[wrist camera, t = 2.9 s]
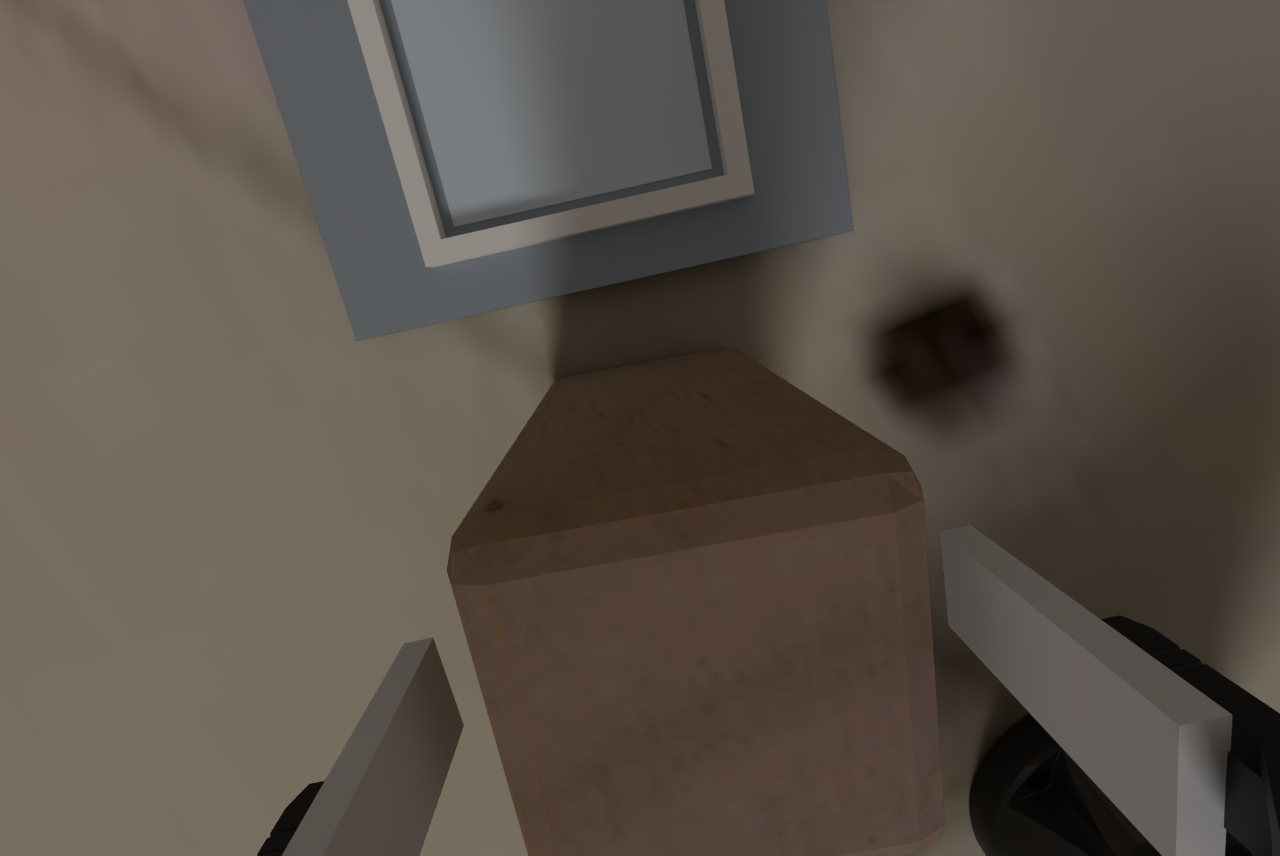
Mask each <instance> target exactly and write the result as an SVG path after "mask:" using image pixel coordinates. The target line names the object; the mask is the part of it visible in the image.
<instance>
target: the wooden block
mask: <svg viewBox="0 0 1280 856" xmlns="http://www.w3.org/2000/svg"><path fill="white" fill-rule="evenodd" d="M447 572H448V576H449V579H450V583H451V586H452V590H453V593H454V597H455V600H456V604H457V607H458V611H459V614H460V618H461V621H462V625H463V628H464V632H465V635H466V639H467V642H468V646H469V649H470V653H471V656H472V660H473V663H474V667H475V670H476V674H477V677H478V681H479V684H480V688H481V691H482V695H483V698H484V702H485V705H486V709H487V712H488V716H489V719H490V723H491V726H492V730H493V733H494V737H495V740H496V744H497V747H498V751H499V754H500V758H501V761H502V765H503V768H504V772H505V775H506V779H507V782H508V786H509V789H510V793H511V796H512V800H513V803H514V807H515V810H516V814H517V817H518V821H519V824H520V828H521V831H522V835H523V838H524V842H525V845H526V849H527V852H528V856H908V855H914V854H917V853H919V852H920V851H922V850H923V849H925V848H926V847H928V846H930V845H931V844H933V843H934V842H936V841H937V840H938V838H939V836H940V834H941V832H942V830H943V828H944V825H945V821H944V806H943V790H942V775H941V760H940V744H939V729H938V714H937V698H936V683H935V668H934V652H933V637H932V622H931V606H930V591H929V576H928V561H927V545H926V530H925V515H924V500H923V494H922V489H921V485H920V483H919V481H918V479H917V478H916V476H915V474H914V472H913V470H912V469H911V467H910V465H909V463H908V461H907V459H906V458H905V456H904V455H902V454H901V453H899V452H898V451H896V450H894V449H893V448H891V447H890V446H888V445H886V444H885V443H883V442H882V441H880V440H879V439H877V438H875V437H874V436H872V435H871V434H869V433H867V432H866V431H864V430H863V429H861V428H860V427H858V426H856V425H855V424H853V423H852V422H850V421H848V420H847V419H845V418H844V417H842V416H841V415H839V414H837V413H836V412H834V411H833V410H831V409H829V408H828V407H826V406H825V405H823V404H822V403H820V402H818V401H817V400H815V399H814V398H812V397H810V396H809V395H807V394H806V393H804V392H803V391H801V390H799V389H798V388H796V387H795V386H793V385H792V384H790V383H788V382H787V381H785V380H784V379H782V378H780V377H779V376H777V375H776V374H774V373H773V372H771V371H769V370H768V369H766V368H765V367H763V366H761V365H760V364H758V363H757V362H755V361H754V360H752V359H750V358H749V357H747V356H746V355H744V354H742V353H741V352H739V351H736V350H732V349H727V348H719V349H714V350H708V351H703V352H697V353H692V354H686V355H681V356H676V357H670V358H665V359H659V360H654V361H648V362H643V363H637V364H632V365H626V366H621V367H615V368H610V369H604V370H599V371H593V372H588V373H583V374H577V375H572V376H566V377H564V378H562V379H561V380H559V381H557V382H556V383H554V384H553V385H552V386H551V387H550V389H549V390H548V392H547V394H546V395H545V397H544V398H543V400H542V401H541V403H540V404H539V406H538V407H537V409H536V410H535V412H534V413H533V415H532V416H531V418H530V419H529V421H528V422H527V424H526V425H525V427H524V428H523V430H522V431H521V433H520V434H519V436H518V437H517V439H516V441H515V442H514V444H513V445H512V447H511V448H510V450H509V451H508V453H507V454H506V456H505V457H504V459H503V460H502V462H501V463H500V465H499V466H498V468H497V469H496V471H495V472H494V474H493V475H492V477H491V478H490V480H489V481H488V483H487V485H486V486H485V488H484V489H483V491H482V492H481V494H480V495H479V497H478V498H477V500H476V501H475V503H474V504H473V506H472V507H471V509H470V510H469V512H468V513H467V515H466V516H465V518H464V519H463V521H462V522H461V524H460V525H459V527H458V528H457V530H456V532H455V533H454V535H453V536H452V540H451V546H450V553H449V559H448V566H447Z"/></svg>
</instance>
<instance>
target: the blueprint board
mask: <svg viewBox="0 0 1280 856" xmlns="http://www.w3.org/2000/svg"><path fill="white" fill-rule="evenodd" d="M243 1H244V4H245V7H246V10H247V13H248V16H249V19H250V22H251V25H252V28H253V31H254V34H255V37H256V40H257V43H258V46H259V49H260V52H261V55H262V58H263V61H264V64H265V67H266V70H267V73H268V76H269V79H270V82H271V85H272V88H273V91H274V94H275V97H276V100H277V103H278V106H279V109H280V112H281V115H282V118H283V121H284V124H285V127H286V130H287V133H288V136H289V139H290V142H291V145H292V148H293V151H294V154H295V157H296V160H297V163H298V166H299V169H300V172H301V175H302V178H303V181H304V184H305V187H306V190H307V193H308V196H309V199H310V202H311V205H312V208H313V211H314V214H315V217H316V220H317V223H318V226H319V229H320V232H321V235H322V238H323V241H324V244H325V247H326V250H327V253H328V256H329V259H330V262H331V265H332V268H333V271H334V274H335V277H336V280H337V283H338V286H339V289H340V292H341V295H342V298H343V301H344V304H345V307H346V310H347V313H348V317H349V320H350V323H351V326H352V329H353V332H354V335H355V338H356V341H359V340H364V339H368V338H373V337H377V336H382V335H386V334H391V333H395V332H400V331H404V330H409V329H413V328H418V327H422V326H427V325H431V324H436V323H440V322H445V321H449V320H454V319H458V318H463V317H467V316H472V315H476V314H481V313H485V312H490V311H494V310H499V309H503V308H508V307H512V306H517V305H521V304H526V303H530V302H535V301H539V300H544V299H548V298H553V297H557V296H562V295H566V294H571V293H575V292H580V291H584V290H589V289H593V288H598V287H602V286H607V285H611V284H616V283H620V282H625V281H629V280H634V279H638V278H643V277H647V276H652V275H656V274H661V273H665V272H670V271H674V270H679V269H683V268H688V267H692V266H697V265H701V264H706V263H710V262H715V261H719V260H724V259H728V258H733V257H737V256H742V255H746V254H751V253H755V252H760V251H764V250H769V249H773V248H778V247H782V246H787V245H791V244H796V243H800V242H805V241H809V240H814V239H818V238H823V237H827V236H832V235H836V234H841V233H845V232H850V231H853V223H852V215H851V207H850V198H849V190H848V182H847V173H846V165H845V157H844V148H843V140H842V132H841V123H840V115H839V106H838V98H837V90H836V81H835V73H834V65H833V56H832V48H831V40H830V31H829V23H828V15H827V6H826V0H243Z"/></svg>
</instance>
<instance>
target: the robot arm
mask: <svg viewBox="0 0 1280 856" xmlns="http://www.w3.org/2000/svg"><path fill="white" fill-rule="evenodd" d="M940 540H941V551H942V562H943V573H944V584H945V595H946V606H947V617H948V626H949V627H950V628H951V629H952V630H953V631H954V632H955V633H956V634H957V635H958V636H959V637H960V638H961V640H962V641H963V642H964V643H965V644H966V645H967V646H968V647H969V648H970V649H971V650H972V651H973V652H974V654H975V655H976V656H977V657H978V658H979V659H980V660H981V661H982V662H983V663H984V664H985V665H986V666H987V668H988V669H989V670H990V671H991V672H992V673H993V674H994V675H995V676H996V677H997V678H998V679H999V681H1000V682H1001V683H1002V684H1003V685H1004V686H1005V687H1006V688H1007V689H1008V690H1009V691H1010V692H1011V693H1012V695H1013V696H1014V697H1015V698H1016V699H1017V700H1018V701H1019V702H1020V703H1021V704H1022V705H1023V706H1024V707H1025V709H1026V710H1027V711H1028V712H1029V713H1030V714H1031V716H1029V717H1028V718H1026V719H1025V720H1023V721H1022V722H1021V723H1019V724H1018V725H1017V726H1015V727H1014V728H1013V729H1012V730H1011V731H1010V732H1008V733H1007V734H1006V735H1005V736H1004V737H1003V738H1002V739H1001V740H1000V742H999V743H998V744H997V745H996V746H995V747H994V749H993V750H992V751H991V752H990V754H989V755H988V757H987V758H986V760H985V762H984V763H983V765H982V767H981V769H980V771H979V773H978V775H977V778H976V780H975V783H974V787H973V791H972V795H971V802H970V817H971V824H972V828H973V831H974V834H975V837H976V839H977V841H978V843H979V845H980V847H981V848H982V850H983V851H984V853H985V855H986V856H1280V713H1278V712H1277V711H1275V710H1274V709H1272V708H1271V707H1269V706H1268V705H1266V704H1265V703H1263V702H1262V701H1260V700H1259V699H1257V698H1256V697H1254V696H1253V695H1251V694H1250V693H1248V692H1247V691H1245V690H1244V689H1242V688H1241V687H1239V686H1238V685H1236V684H1235V683H1233V682H1232V681H1230V680H1229V679H1227V678H1226V677H1225V676H1223V675H1222V674H1220V673H1219V672H1217V671H1216V670H1214V669H1213V668H1211V667H1210V666H1208V665H1207V664H1204V665H1203V664H1202V663H1201V661H1200V660H1199V659H1198V658H1196V657H1195V656H1193V655H1192V654H1190V653H1189V652H1187V651H1186V650H1184V649H1183V650H1181V649H1180V648H1179V646H1178V645H1177V644H1175V643H1174V642H1172V641H1171V640H1169V639H1168V638H1166V637H1165V636H1163V635H1162V634H1160V633H1159V632H1157V631H1156V630H1154V629H1153V628H1151V627H1148V626H1146V625H1143V624H1140V623H1138V622H1135V621H1133V620H1130V619H1128V618H1125V617H1123V616H1115V617H1110V618H1105V619H1099V618H1098V617H1097V616H1095V615H1094V614H1093V613H1091V612H1090V611H1088V610H1087V609H1086V608H1084V607H1083V606H1081V605H1080V604H1079V603H1077V602H1076V601H1075V600H1073V599H1072V598H1070V597H1069V596H1068V595H1066V594H1065V593H1064V592H1062V591H1061V590H1059V589H1058V588H1057V587H1055V586H1054V585H1053V584H1051V583H1050V582H1048V581H1047V580H1046V579H1044V578H1043V577H1041V576H1040V575H1039V574H1037V573H1036V572H1035V571H1033V570H1032V569H1030V568H1029V567H1028V566H1026V565H1025V564H1024V563H1022V562H1021V561H1019V560H1018V559H1017V558H1015V557H1014V556H1012V555H1011V554H1010V553H1008V552H1007V551H1006V550H1004V549H1003V548H1001V547H1000V546H999V545H997V544H996V543H995V542H993V541H992V540H990V539H989V538H988V537H986V536H985V535H984V534H982V533H981V532H979V531H978V530H977V529H975V528H974V527H972V526H971V525H966V526H961V527H956V528H951V529H947V530H942V531H940ZM463 726H464V725H463V722H462V719H461V716H460V713H459V710H458V707H457V705H456V702H455V699H454V696H453V693H452V690H451V687H450V685H449V682H448V679H447V676H446V673H445V670H444V667H443V665H442V662H441V659H440V656H439V653H438V650H437V647H436V645H435V642H434V639H433V638H428V639H424V640H419V641H414V642H409V643H405V644H404V645H403V646H402V648H401V650H400V651H399V653H398V655H397V657H396V658H395V660H394V662H393V664H392V665H391V667H390V669H389V671H388V672H387V674H386V676H385V678H384V679H383V681H382V683H381V684H380V686H379V688H378V690H377V691H376V693H375V695H374V697H373V698H372V700H371V702H370V704H369V705H368V707H367V709H366V710H365V712H364V714H363V716H362V717H361V719H360V721H359V723H358V724H357V726H356V728H355V730H354V731H353V733H352V735H351V736H350V738H349V740H348V742H347V743H346V745H345V747H344V749H343V750H342V752H341V754H340V756H339V757H338V759H337V761H336V762H335V764H334V766H333V768H332V769H331V771H330V773H329V775H328V776H327V778H326V780H325V781H322V782H317V783H312V784H309V785H308V786H307V787H306V788H305V789H304V790H303V791H302V792H301V793H300V794H299V795H298V796H297V797H296V798H295V799H294V800H293V801H292V802H291V803H290V804H289V805H288V806H287V807H286V809H285V810H284V812H283V813H282V815H281V817H280V818H279V820H278V822H277V823H276V825H275V826H274V828H273V830H272V831H271V833H270V834H271V835H270V838H267V839H266V841H265V843H264V844H263V846H262V847H261V849H260V851H259V852H258V854H257V855H258V856H419V855H420V852H421V849H422V846H423V843H424V840H425V838H426V835H427V832H428V829H429V826H430V823H431V820H432V817H433V814H434V811H435V808H436V805H437V802H438V799H439V797H440V794H441V791H442V788H443V785H444V782H445V779H446V776H447V773H448V770H449V767H450V764H451V761H452V758H453V756H454V753H455V750H456V747H457V744H458V741H459V738H460V735H461V732H462V729H463Z"/></svg>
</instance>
